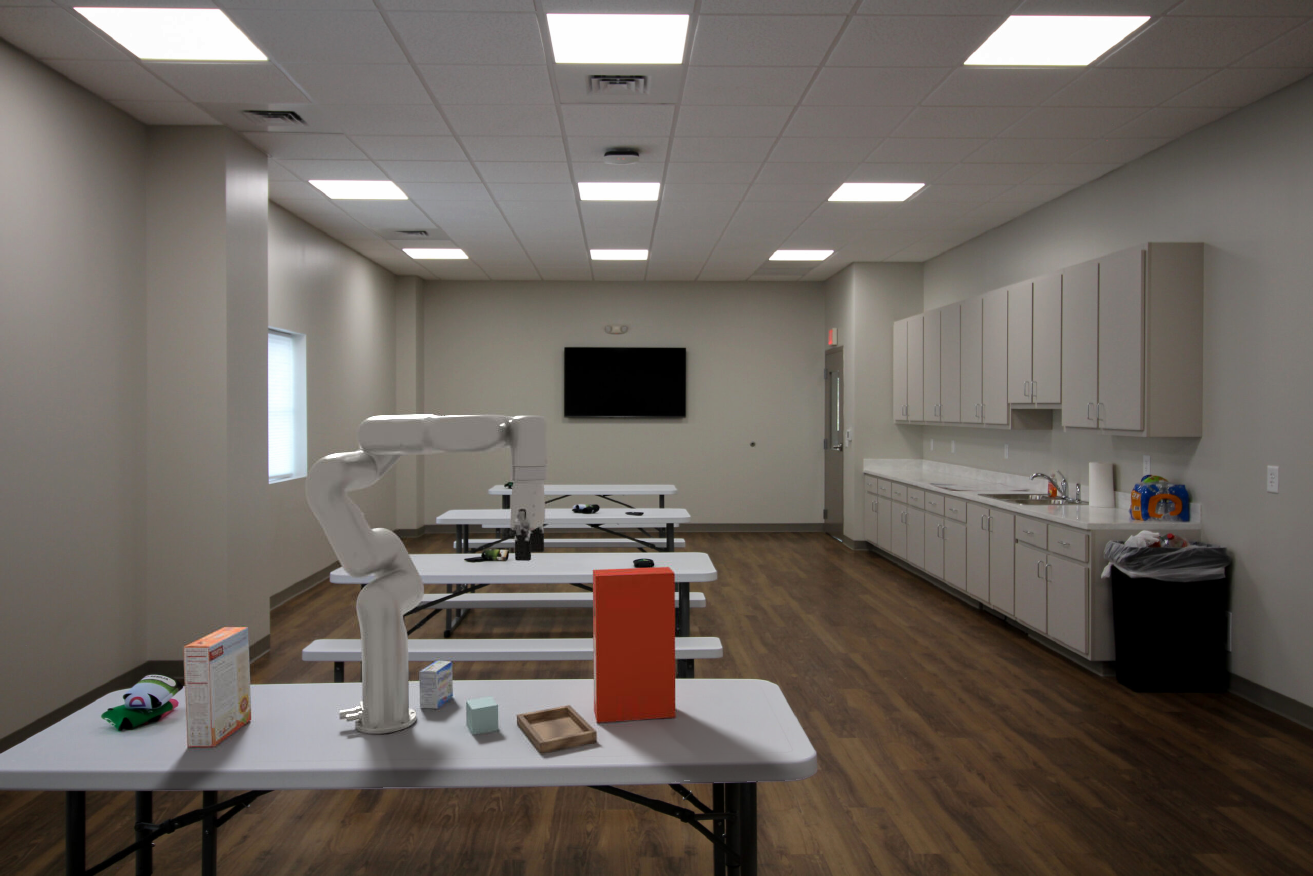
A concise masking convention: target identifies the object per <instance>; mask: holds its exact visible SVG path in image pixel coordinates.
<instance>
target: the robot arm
mask: <svg viewBox="0 0 1313 876" xmlns="http://www.w3.org/2000/svg"><path fill="white" fill-rule="evenodd" d="M547 424H548V423H547V419H546V418H545V417H544V416H542V415H515V416H511V415H503V414H474V415H473V414H472V415H471V414H470V415H445V416H444V415H442V416H441V415H435V414H432V413H431V414H428V413H427V414H423V413H422V414H399V415H396V414H395V415H392V414H391V415H375V416H370V417H368V418H365V419H364V420H363V421H361V423H359V425H358V427H357V429H356V430H355V431H356V432H355V440H356V443H357V444H358V446H359V447H358V449H356V451H348V452H338V453H332V454H328V455H325V456H323V457H321V458H320V459H318V460H317V461H316V462H315V463H313V465H312V466H311V468H310V469H309V471H308V472H307V475H306V479H305V484H304V494H305V497H306V501H307V504H308V506H309V507H310V510H311V511H312V513H313V514H314V516H315V518H316V519H317V521H318V523H319V525H321V528H322V530H323V532H324V534H325V537H326V539H327V540H328V542H329V543H330V546H331V547H332V550H333V551H334V554H335V555H336V558H337V559H338V561H339V563H340V565H341V567H342V569H343V570H344V572H346V574H347V575H349V576H350V577H352V578H359V579H360V578H366V577H368V576H371V575H373V576H374V577H375V579H373V580H372V581H369V582H368V583H367V584H366V585H364V587H362V589H361V590H360V591H359V594H358V596H357V599H356V604H355V605H356V607H355V609H356V616H357V619H358V624H359V630H360V644H361V647H360V648H361V649H360V650H361V651H360V652H361V689H362V690H361V692H362V697H361V698H362V700H361V701H359V705H357V706H355V707H354V708H350V709H349V708H346V709H341V710H339V713H338V715H339V720H346V722H353V721H354V726H355V727H354V728H355V729H356V730H357V731H359V732H361V733H364V734H370V735H371V734H372V735H373V734H374V735H375V734H376V735H379V734H388V733H394V732H397V731H401V730H405V729H407V728H408V727H410V726H412V725H413V724H414V723H415V722H416V721H417V717H418V716H417V712H416V710H414V709H413V708H410V689H409V688H410V687H409V683H410V681H409V679H410V678H409V639H408V638H409V637H408V632H407V627H406V624H405V621H404V615H405V614H407V613H408V612H410V611H412V610H413V609H415V608H416V607H417V606H418V605H419V604H420V603H421V602H422V600H423V598H424V595H425V587H424V582H423V580H422V576H421V575H420V573H419V571H418V569H417V567H416V565H415V563H414V561H413V560H412V558H411V556H410V554H409V551H408V550H407V548H406V547H405V544H404V542H403V541H402V540H401V538H400V537H399V536H398V535H397V533H395V532H393V531H392V530H390V529H388V528H384V527H377V528H371V527H370V525H369V523H368V522H367V520H366V518H365V516H364V514H363V512H362V510H361V509H360V507H359V506H358V505H357V504H356V503H355V502H354V501H353V500H352V499H351V498H350V497H349V495H348V492H352V491H356V490H357V491H358V490H363V489H367V488H369V487H371V486H373V485H375V483H377V482H378V481H379V480H380V479H381V478H383V477H384V475H386V473H387V472H389V470H390V469H392V468H393V466H394V465H395V464H396V463H397V462H398V461H399V460H400V459H401V458H403V457H402V456H405V455H407V456H408V455H436V454H440V453H441V454H443V453H444V454H445V453H447V454H450V453H453V454H455V453H457V454H458V453H484V452H493V451H500V450H507V449H510V483H513V484H512V488H511V489H512V490H511V497H510V498H511V502H510V529H511V530H512V531H513V534H514V559H515V561H516V562H517V561H519V562H523V561H524V562H527V561H529V562H530V561H531V560H532V553H543V552H545V533H544V532H545V527H544V523H545V521H546V501H545V485H544V483H545V482H548V439H547V438H548V427H547Z"/></svg>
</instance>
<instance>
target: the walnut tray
mask: <svg viewBox="0 0 1313 876" xmlns="http://www.w3.org/2000/svg"><path fill="white" fill-rule="evenodd" d="M516 726H517V727H518V728H519V730H521V732H522V734H524V736H525V737H526V738H527V740H528V742H530V744H531V745H532V746H533V748H534V749H535V750H536V751H537V752H538V753H539V755H544V754H548V753H552V752H558V751H561V750H562V751H563V750H567V749H572V748H577V747H581V746H586V745H591V744H595V743H597V742H598V741H597V740H598V737H597V735H598V734H597V731H596V729H595V728H594V727H592V725H591V724H589V722H587V721H586V719H584V718H583V717H582V715H580V713H578V712H577V711H576V710H575V709H574V708H573V707H572V705H571V704H570V705H562V706H557V707H556V706H555V707H552V708H545V709H541V710H535V711H529V712H523V713H519V714H516Z"/></svg>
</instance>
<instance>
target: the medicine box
mask: <svg viewBox="0 0 1313 876" xmlns="http://www.w3.org/2000/svg"><path fill="white" fill-rule="evenodd" d="M418 673H419V674H418V676H419V678H418V679H419V680H418V683H419V686H418V687H419V708H421V709H429V710H430V709H431V710H438V709H439V708H441V707H442V706H443V705H444V704H446V703H447V702H448V701H449V700H451V699H452V698H453V696H454V693H453V692H454V689H453V688H454V687H453V685H454V683H453V661H451V660H450V661H449V660H448V661H447V660H435V661H434V662H432V663H431V664H429V665H428V666H426V667H424V668H423V669H421V670H420V671H418Z"/></svg>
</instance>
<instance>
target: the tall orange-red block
mask: <svg viewBox="0 0 1313 876" xmlns="http://www.w3.org/2000/svg"><path fill="white" fill-rule="evenodd" d="M675 574H676V573H675V572H674V571H673V570H672V568H670V566H664V567H663V566H662V567H661V566H659V567H656V566H654V567H635V568H634V567H631V568H608V569H593V570H592V615H593V617H592V620H593V622H592V625H593V626H592V628H593V630H592V631H593V633H592V635H593V636H592V637H593V639H592V641H593V643H592V647H593V649H592V650H593V712H594V717H595V721H596V723H597V724H598V723H610V722H612V723H613V722H625V721H641V720H652V719H654V720H655V719H666V718H667V719H668V718H676V584H675V581H676V579H675V578H676V577H675V576H676V575H675Z"/></svg>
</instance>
